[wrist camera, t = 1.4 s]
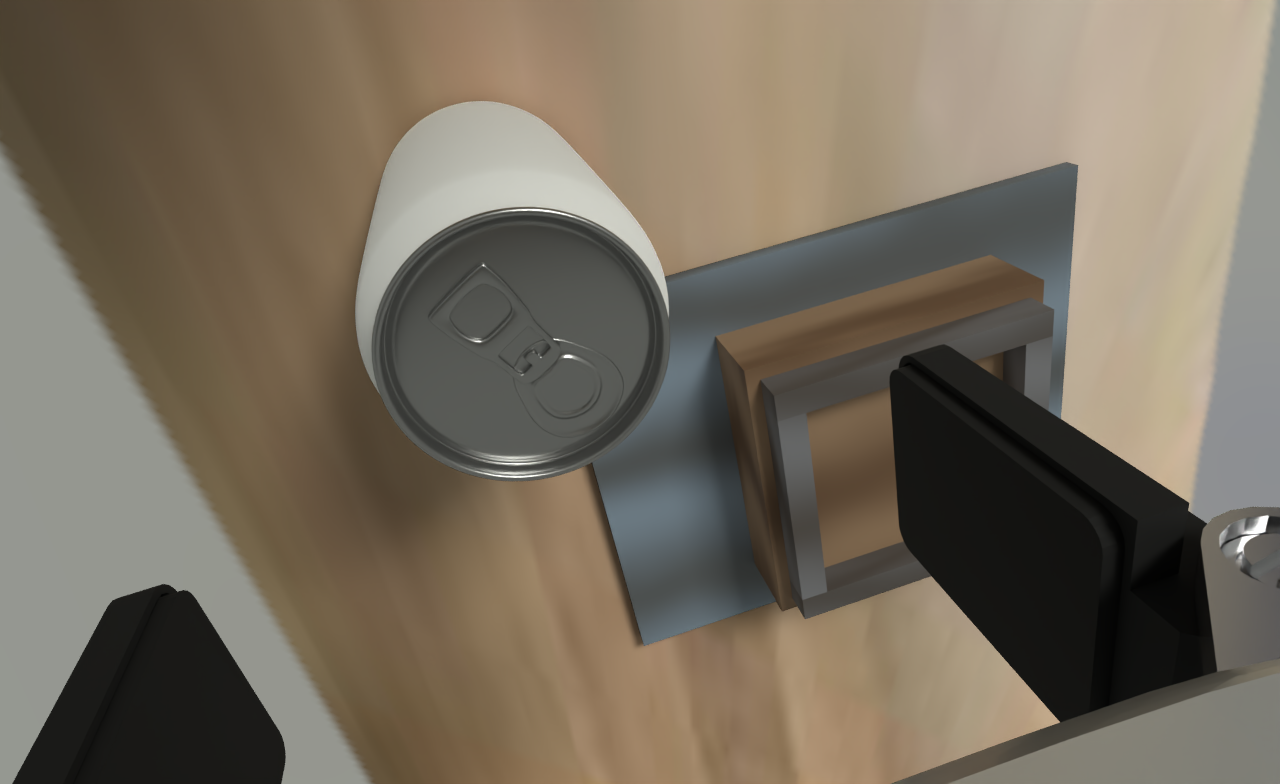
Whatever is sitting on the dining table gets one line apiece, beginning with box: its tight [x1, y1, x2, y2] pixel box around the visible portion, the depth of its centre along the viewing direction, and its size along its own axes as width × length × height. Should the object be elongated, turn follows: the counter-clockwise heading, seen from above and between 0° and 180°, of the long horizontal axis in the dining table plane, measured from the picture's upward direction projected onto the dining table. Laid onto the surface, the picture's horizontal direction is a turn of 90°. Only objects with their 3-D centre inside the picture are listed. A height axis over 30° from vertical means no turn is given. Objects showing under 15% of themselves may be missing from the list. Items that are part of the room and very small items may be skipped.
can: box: [355, 101, 670, 481], centre depth 20 cm, size 6×6×12 cm
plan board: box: [592, 162, 1078, 646], centre depth 30 cm, size 16×20×5 cm
